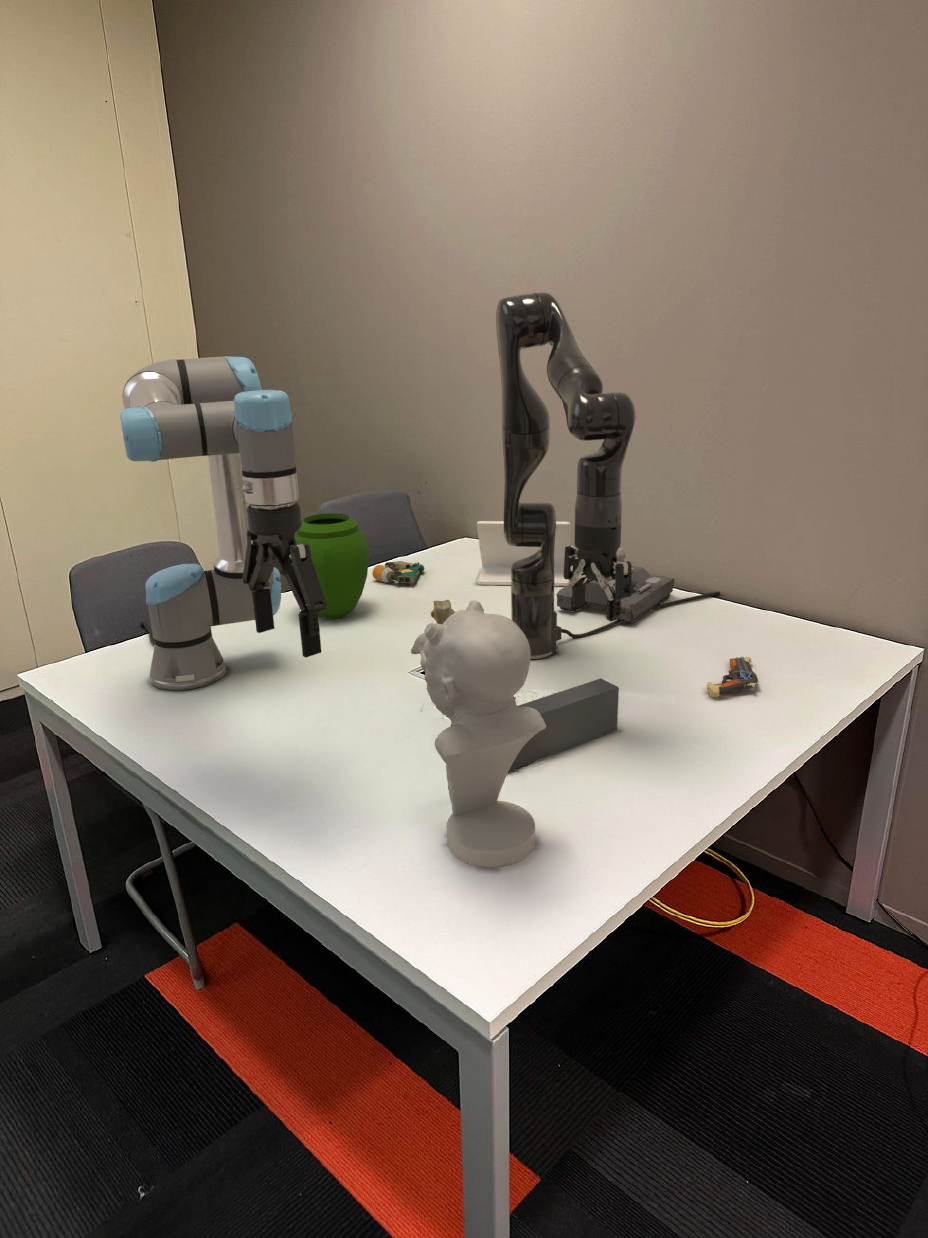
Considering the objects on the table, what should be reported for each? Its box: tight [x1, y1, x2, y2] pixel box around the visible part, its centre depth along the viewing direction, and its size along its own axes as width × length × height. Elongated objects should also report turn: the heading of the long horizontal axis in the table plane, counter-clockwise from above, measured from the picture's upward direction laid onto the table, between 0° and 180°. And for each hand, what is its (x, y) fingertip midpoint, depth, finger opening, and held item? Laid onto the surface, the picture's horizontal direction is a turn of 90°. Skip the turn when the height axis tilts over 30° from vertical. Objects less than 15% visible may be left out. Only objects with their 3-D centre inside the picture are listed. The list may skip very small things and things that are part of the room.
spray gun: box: [371, 560, 425, 585], centre depth 240 cm, size 4×17×15 cm
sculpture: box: [430, 599, 456, 624], centre depth 177 cm, size 6×7×15 cm
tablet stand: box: [476, 520, 571, 587], centre depth 236 cm, size 18×25×17 cm
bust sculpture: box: [410, 599, 546, 868], centre depth 121 cm, size 16×24×35 cm
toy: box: [556, 546, 676, 624], centre depth 212 cm, size 25×20×15 cm
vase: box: [292, 512, 370, 620], centre depth 209 cm, size 20×20×24 cm
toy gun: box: [706, 656, 760, 698], centre depth 171 cm, size 3×19×10 cm
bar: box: [508, 678, 620, 773], centre depth 147 cm, size 24×5×9 cm, turn 123°
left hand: (288, 642), depth 129 cm, fingers open, 13 cm apart
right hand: (595, 612), depth 144 cm, fingers open, 8 cm apart
